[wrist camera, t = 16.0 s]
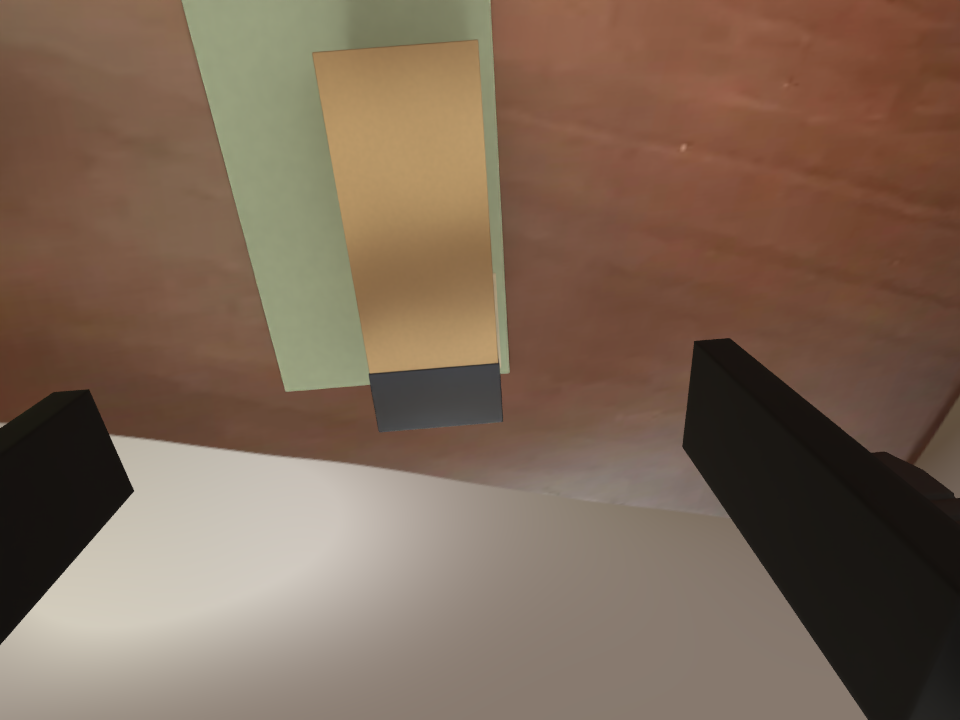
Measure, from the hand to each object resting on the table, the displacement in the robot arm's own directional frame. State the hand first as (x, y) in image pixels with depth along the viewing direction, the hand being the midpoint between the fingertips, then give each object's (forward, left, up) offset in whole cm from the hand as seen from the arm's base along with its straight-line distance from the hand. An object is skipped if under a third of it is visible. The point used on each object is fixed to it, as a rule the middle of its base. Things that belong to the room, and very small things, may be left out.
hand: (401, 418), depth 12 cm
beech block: (0, 0, -19) cm, 19 cm away
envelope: (+3, +3, -19) cm, 20 cm away
